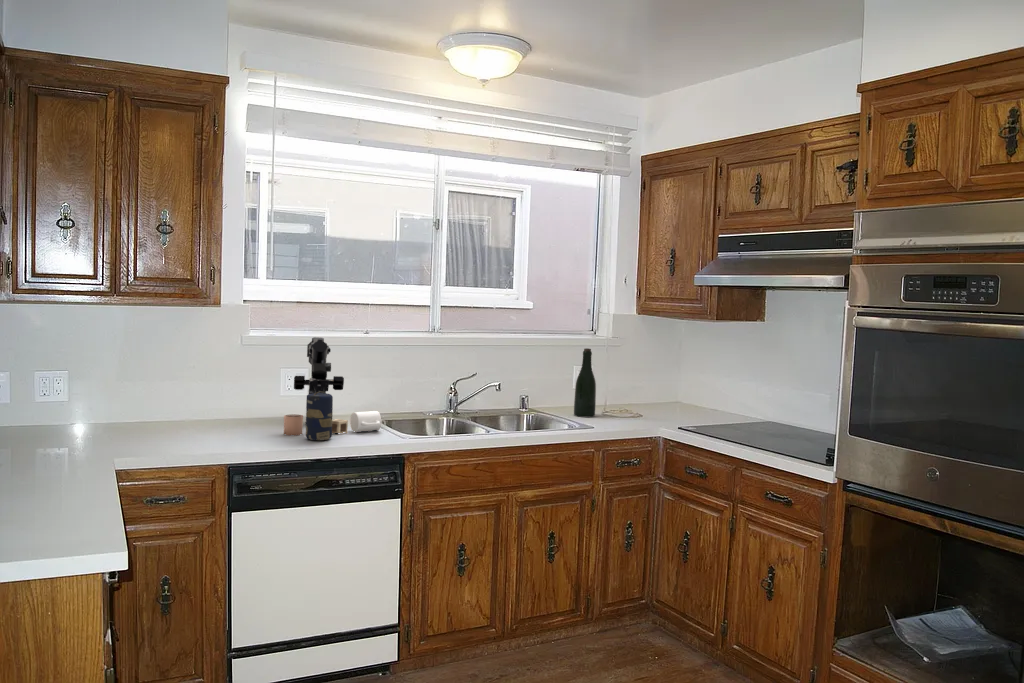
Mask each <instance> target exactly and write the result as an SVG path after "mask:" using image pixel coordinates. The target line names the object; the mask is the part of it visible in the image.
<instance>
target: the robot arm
mask: <svg viewBox="0 0 1024 683" xmlns="http://www.w3.org/2000/svg"><path fill="white" fill-rule="evenodd" d="M306 346H307V347H306V357H307V358H308V363H309V364H310V365H311V371H310V372H311V377H310V378H309V379H306V376H305V375H294V379H293V389H294V390H295V391H296V390H297V391H299V390H304V389H305V386H309V387H308V393H307V395H309V394H312V393H317V392H319V391H321V392H324V393H327V392H329V388H330V386H332V389H333V390H334V391H342V390H343V389H344V383H345V379H344V378H345V377H343V376H342V375H335V376H333V379H328V373H330V372H331V371H332V363H331V362H327V357H328V355H330V353H331V348H330V346H329V345H328V343H326V342H325V338H324V337H316V336H315V337H312V338H311V341H310V342H309V343H307V345H306ZM321 392H320V393H321ZM305 404H306V405H307V399H306V403H305ZM306 405H305V406H306ZM304 423H306V421H305V422H304Z"/></svg>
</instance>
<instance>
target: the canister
mask: <svg viewBox="0 0 1024 683" xmlns="http://www.w3.org/2000/svg"><path fill="white" fill-rule="evenodd" d="M320 392H321V391H319V392H317V393H312V394H309V393H308V394H309V395H308V394H307V395H306V400H307V405H305V406H306V408H305V409H306V411H305V412H306V413H305V415H306V416H305V422H306V424H305V438H306V439H308V440H309V441H310V440H311V441H327V440H330V439H332V437H333V434H332V420H333V415H334V414H333V412H334V410H333V400H334V397H333V395H332V394H331V393H327V392H326V393H324V392H321V393H320Z"/></svg>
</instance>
